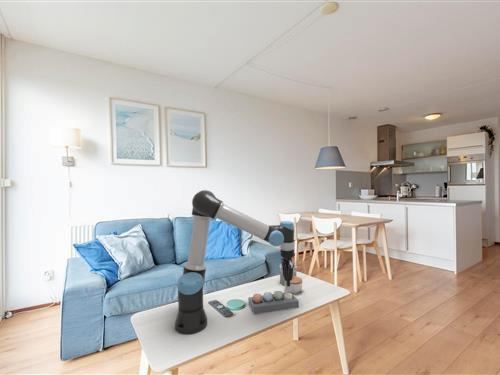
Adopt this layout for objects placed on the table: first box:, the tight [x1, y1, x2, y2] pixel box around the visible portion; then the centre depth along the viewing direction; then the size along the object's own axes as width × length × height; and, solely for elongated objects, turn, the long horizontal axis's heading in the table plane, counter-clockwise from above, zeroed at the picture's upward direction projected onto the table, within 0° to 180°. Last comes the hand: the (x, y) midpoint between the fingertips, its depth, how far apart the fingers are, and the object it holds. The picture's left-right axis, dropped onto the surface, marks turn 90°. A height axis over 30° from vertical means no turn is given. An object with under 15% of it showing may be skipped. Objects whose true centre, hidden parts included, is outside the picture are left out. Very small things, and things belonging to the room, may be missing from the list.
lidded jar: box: [290, 275, 303, 295], centre depth 157 cm, size 11×11×9 cm
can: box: [279, 262, 298, 287], centre depth 170 cm, size 11×11×12 cm
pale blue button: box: [263, 291, 273, 302], centre depth 139 cm, size 4×4×4 cm
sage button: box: [273, 290, 283, 301], centre depth 140 cm, size 4×4×4 cm
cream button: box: [284, 293, 292, 299], centre depth 142 cm, size 4×4×4 cm
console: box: [248, 291, 300, 315], centre depth 140 cm, size 25×12×4 cm, turn 104°
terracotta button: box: [252, 293, 262, 304], centre depth 137 cm, size 4×4×4 cm
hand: (287, 291), depth 142 cm, fingers closed
